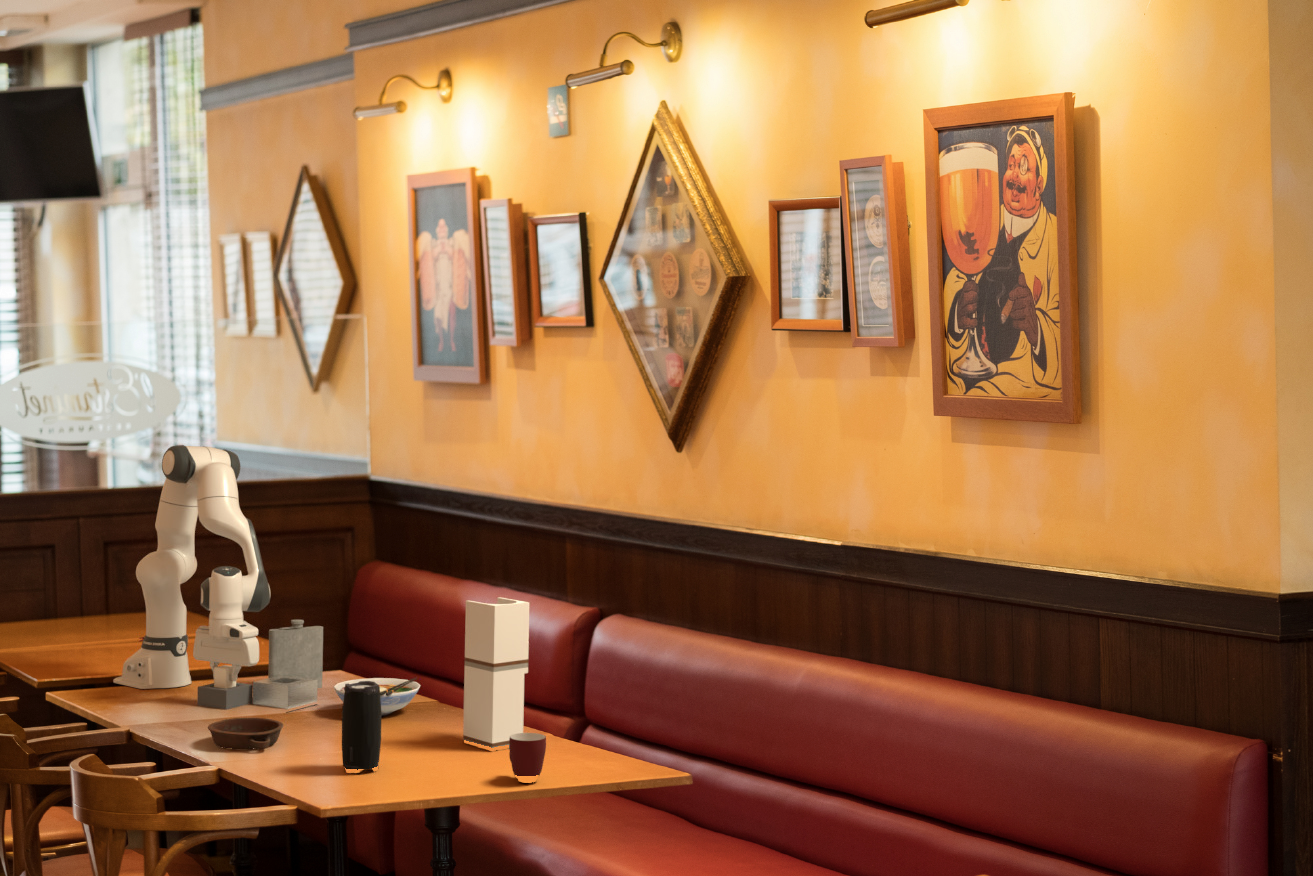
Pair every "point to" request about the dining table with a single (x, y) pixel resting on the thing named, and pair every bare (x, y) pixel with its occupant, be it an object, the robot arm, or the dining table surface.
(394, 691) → the ramen bowl
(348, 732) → the portable speaker
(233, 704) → the grey square socket block
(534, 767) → the mug
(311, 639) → the hip flask
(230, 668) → the plug
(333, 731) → the dining table surface
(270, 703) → the port box
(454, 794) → the dining table surface
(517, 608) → the banded cream pillar
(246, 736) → the dish
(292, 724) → the dining table surface
